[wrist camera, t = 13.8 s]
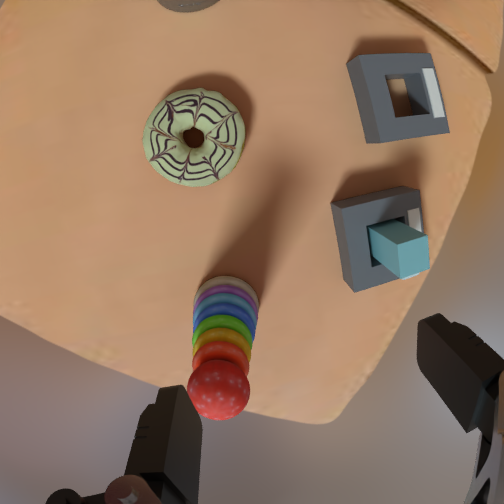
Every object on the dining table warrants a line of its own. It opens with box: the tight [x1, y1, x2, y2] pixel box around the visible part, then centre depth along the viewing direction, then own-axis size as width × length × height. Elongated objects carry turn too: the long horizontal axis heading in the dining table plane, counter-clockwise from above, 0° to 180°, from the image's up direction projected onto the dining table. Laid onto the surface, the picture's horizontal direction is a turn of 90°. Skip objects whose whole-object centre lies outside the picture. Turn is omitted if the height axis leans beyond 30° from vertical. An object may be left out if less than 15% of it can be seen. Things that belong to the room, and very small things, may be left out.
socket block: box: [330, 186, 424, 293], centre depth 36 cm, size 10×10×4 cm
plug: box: [366, 219, 430, 280], centre depth 33 cm, size 4×4×10 cm
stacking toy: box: [187, 276, 259, 420], centre depth 31 cm, size 8×8×19 cm
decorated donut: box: [143, 88, 245, 187], centre depth 32 cm, size 10×11×4 cm
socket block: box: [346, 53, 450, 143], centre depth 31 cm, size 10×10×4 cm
